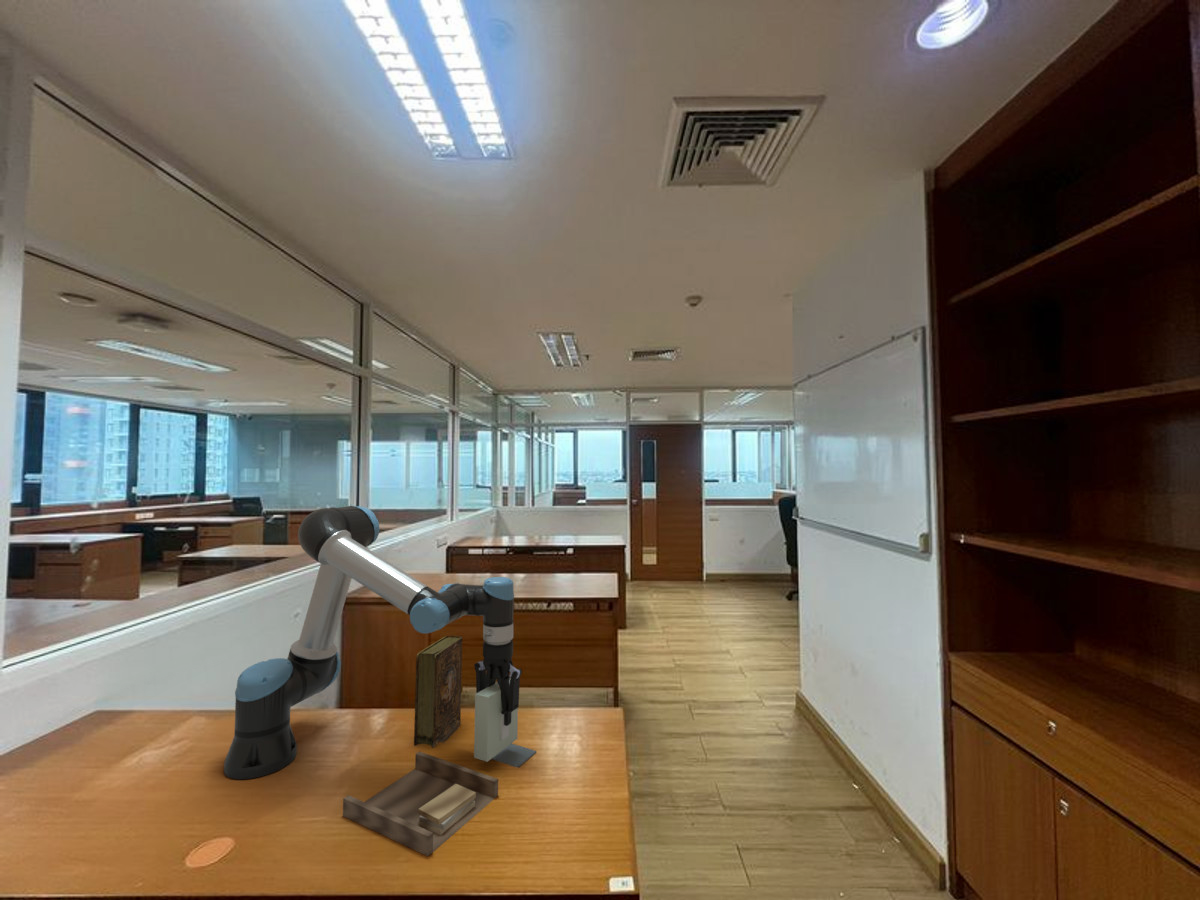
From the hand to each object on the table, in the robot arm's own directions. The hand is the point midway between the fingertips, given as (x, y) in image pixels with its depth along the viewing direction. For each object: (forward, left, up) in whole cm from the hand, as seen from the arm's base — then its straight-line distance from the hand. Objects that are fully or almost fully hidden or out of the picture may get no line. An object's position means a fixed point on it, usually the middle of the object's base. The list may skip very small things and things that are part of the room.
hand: (496, 735), depth 128 cm
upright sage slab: (0, 0, -3) cm, 3 cm away
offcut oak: (+5, -22, -3) cm, 23 cm away
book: (-22, +3, -7) cm, 23 cm away
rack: (-2, -22, -7) cm, 23 cm away
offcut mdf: (+5, -22, -5) cm, 23 cm away
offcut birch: (+5, -22, -6) cm, 23 cm away
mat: (0, 0, -7) cm, 7 cm away
